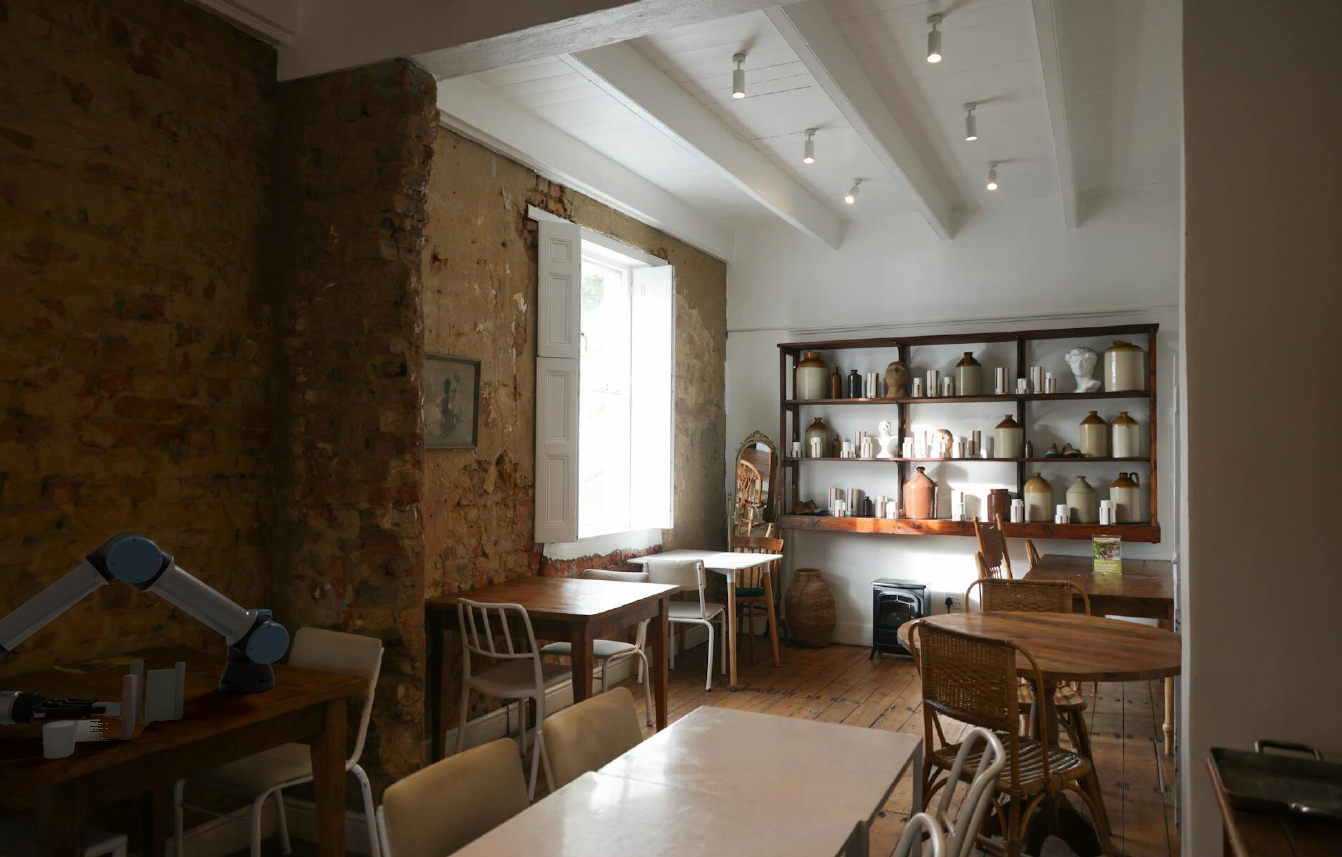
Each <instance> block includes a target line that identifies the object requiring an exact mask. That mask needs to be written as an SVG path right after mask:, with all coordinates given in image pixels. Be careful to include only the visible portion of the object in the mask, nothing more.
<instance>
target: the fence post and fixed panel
mask: <svg viewBox="0 0 1342 857" xmlns="http://www.w3.org/2000/svg"><path fill="white" fill-rule="evenodd" d="M144 661H145V660H142V659H141V660H140V659H139V660H132V661H129V672H128V673H129V674H128V675H133V674H137V675H138V686H137V704H136V721H135V724H138V723H140V718H141V715H142V698H143V697H142V696H143V694H142V693H143V682H144V679H143V677H144V665H145V662H144ZM146 672H147V673H146V688H145V706H144V710H145V711H144V717H145V722H151V723H154V722H153V721H160V722H168V721H167V720H171V721H172V720H173V719H176V720H177V719H182V720H183V711H184V698H185V697H184V695H185V692H184V691H185V677H186V676H185V675H186V661H177V662H174V668H163V669H162V668H161V669H151V670H150V669H148V670H147V671H146ZM145 722H144V723H145Z"/></svg>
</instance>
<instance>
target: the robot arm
mask: <svg viewBox="0 0 1342 857" xmlns="http://www.w3.org/2000/svg"><path fill="white" fill-rule="evenodd" d="M116 580H120V581H122V582H125V583H126V584H128V585H130V586H131V587H132V588H134V589H136V590H138V591H140V592H141V593H145V592H153V593H155V594H156V595H158V596H159V597H161V598H163V599H164V600H166V601H167V602H169V603H170V604H173V605H174V606H176V607H177V608H179V609H180V610H182V611H183V612H185V613H187V614H188V615H191V616H192V617H194V618H195V619H196V620H198V621H200V622H201V623H203V624H205V625H206V626H207V627H210V628H212V629H213V630H214V631H216V632H217V633H219V634H221V635H222V636H224V637H225V641H226V645H227V649H226V650H227V652H226V663H225V665H224V668H223V671H222V673H221V676H220V679H219V682H218V690H219V691H220V692H223V693H227V694H240V695H241V694H250V693H251V694H253V693H259V692H263V691H267V690H270V689H272V688H275V685H276V684H275V682H276V681H275V680H276V678H275V674H274V670H273V667H272V663H274V662H276V661H278V660H279V659H281V658H282V657H283V656H284V655H285V653H286V651H287V650H288V647H289V644H290V637H289V633H288V631H287V629H286V628H285V626H284V625H283V624H281V623H280V622H279V623H278V622H276V621H274V620H273V613H272V612H273V611H272V610H271V609H268V608H267V609H266V608H265V609H261V608H259V609H255V608H252V609H245V608H243V607H242V606H240V605H239V604H238V603H236V602H234V601H233V600H232V599H230V598H228V597H227V596H225V595H223V594H222V593H220V592H219V591H217V590H216V589H214V588H212V587H211V586H209V585H208V584H206V583H205V582H203V581H202V580H200V579H198V578H197V577H196V576H194V575H192V574H191V573H189V572H187V570H184V568H181V567H180V566H178V565H177V564H175V558H174V555H173V554H171V553H169V552H168V551H167V550H165V549H163V548H162V547H160V546H158V545H157V544H156V542H155V541H153V540H151V539H150V538H148V537H145V536H142V535H140V534H138V533H135V532H121V533H118V534H115V535H113V536H111V537H110V538H108V539H107V540H106V541H104V542H103V543H102V544H100V545H99V546H98V547H97V548H95V549H94V550H92V552H90V553H89V554H87V555H86V556H85V557H83V558H82V562H81V564H79V565H78V566H77V567H75V568H74V569H72V570H71V571H69V572H68V573H67V574H65V575H63V577H60V578H59V579H58V580H56V582H54V583H52V584H50V585H49V586H48V587H47V588H45V589H43V590H41V591H40V592H39V593H38V594H36V595H35V596H34V597H32V598H30V599H29V600H28V601H26V602H25V603H23V604H22V605H21V606H19V607H17V608H16V609H15V610H13V611H12V612H10V613H9V614H7V615H5V616H4V617H3V618H2V619H0V658H2V657H3V656H4V655H5V654H7V653H8V652H10V651H11V650H12V649H14V648H15V647H17V646H18V645H19V644H21V643H22V642H23V641H25V640H27V639H28V638H29V637H30V636H32V635H33V634H35V633H36V632H37V631H39V630H41V629H42V628H44V626H46V625H48V624H49V623H50V622H51V621H53V620H54V619H56V618H57V617H59V616H60V615H61V614H63V613H65V612H66V611H67V610H68V609H70V608H71V607H72V606H75V604H77V603H79V602H80V601H81V600H83V599H84V598H85V597H87V596H88V595H90V594H91V593H92V592H93V591H95V590H97V589H98V588H99V587H101V586H109V585H110V584H111V583H113V582H115V581H116ZM121 711H122V701H117V702H116V701H115V702H114V701H113V702H111V701H100V699H99V698H98V697H95V698H88V697H87V698H86V697H85V698H84V697H74V696H73V697H72V696H69V695H66V696H63V698H57V697H50V698H48V699H46V698H45V696H44V694H43V693H42V692H40V691H19V690H18V691H17V690H15V691H14V690H13V691H11V690H10V691H9V690H7V691H5V690H3V691H0V724H2V726H3V727H7V726H8V725H10V724H11V725H14V724H16V725H34V724H35V723H37V722H38V721H46V720H50V721H51V720H73V719H82V718H84V717H85V720H91V716H105V717H106V716H107V717H108V716H112V717H113V716H115V717H117V716H119V717H121Z"/></svg>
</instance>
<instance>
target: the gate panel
mask: <svg viewBox="0 0 1342 857" xmlns="http://www.w3.org/2000/svg"><path fill="white" fill-rule="evenodd" d="M122 678H123V679H122V696H121V698H122V699H121V702H122V711H121V715H120V719H121V729H120V741H128V740H132V739H131V738H132V733H133V730H134V728H135V721H136V704H137V686H138V675H137V674H133V675H129V674H126V675H123V677H122Z"/></svg>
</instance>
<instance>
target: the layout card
mask: <svg viewBox="0 0 1342 857" xmlns="http://www.w3.org/2000/svg"><path fill="white" fill-rule="evenodd" d="M77 721H78V728H77V734H76V740H75V743H77V742H78V743H80V742H96V741H97V742H99V741H101V742H102V741H104V740H103V739H107V738H103V737H100V736H103V735H100V734H103V733H102V732H90V731H99V730H96V729H103V728H98V727H90V726H101V725H98V724H103V723H98V722H96V723H95V722H90V721H100V719H84V720H83V719H81V720H77ZM106 724H108V723H106ZM93 729H95V730H93ZM105 729H108V728H105ZM98 734H99V735H98ZM100 739H101V740H100ZM41 744H42V745H43V742H41Z"/></svg>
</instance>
